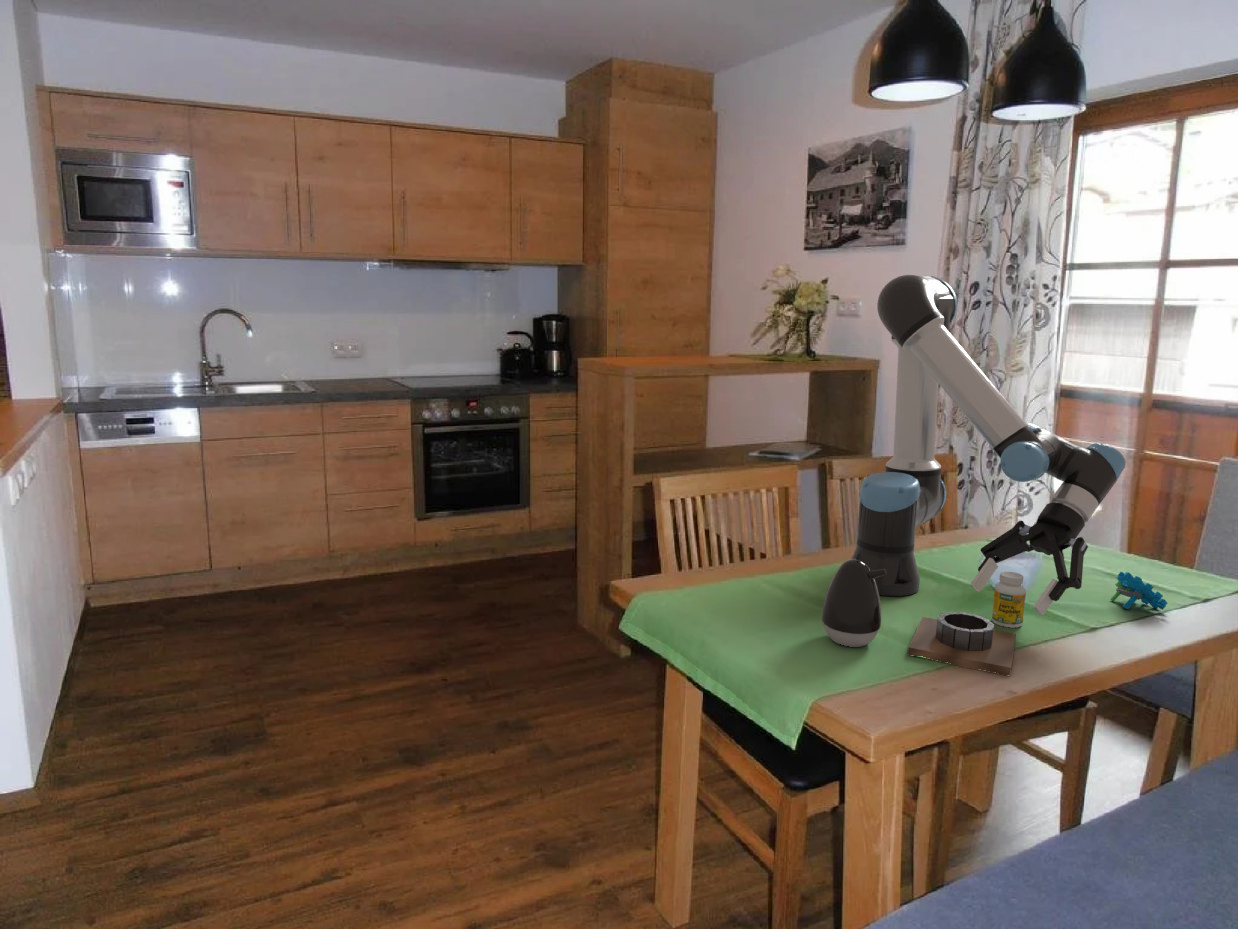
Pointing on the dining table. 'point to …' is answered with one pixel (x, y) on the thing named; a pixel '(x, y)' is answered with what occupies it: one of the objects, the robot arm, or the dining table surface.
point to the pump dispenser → (853, 604)
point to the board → (987, 660)
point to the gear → (1137, 591)
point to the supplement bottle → (1009, 600)
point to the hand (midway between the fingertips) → (1005, 599)
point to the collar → (964, 631)
